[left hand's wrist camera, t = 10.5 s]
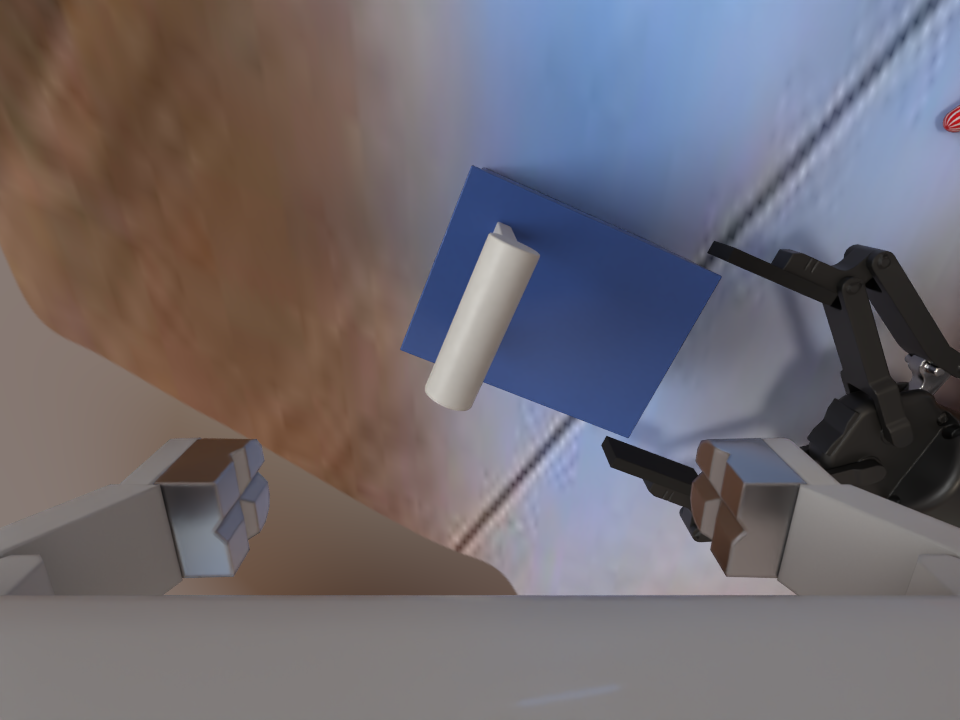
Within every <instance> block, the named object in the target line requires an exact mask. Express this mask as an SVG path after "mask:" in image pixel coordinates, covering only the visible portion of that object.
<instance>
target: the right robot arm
mask: <svg viewBox="0 0 960 720" xmlns="http://www.w3.org/2000/svg"><path fill="white" fill-rule="evenodd" d="M708 253H709V254H711V255H713V256H716V257H718V258H720V259H723V260H725V261H727V262H729V263H732V264H734V265H736V266H739V267H741V268H743V269H745V270H748V271H750V272H752V273H755V274H757V275H759V276H761V277H764V278H766V279H768V280H771V281H773V282H775V283H777V284H780V285H782V286H784V287H787V288H789V289H791V290H793V291H796V292H798V293H800V294H803V295H805V296H807V297H810V298H812V299H815V300H817V301H819V302H822V303H823V306H824V310H825V313H826V316H827V319H828V322H829V326H830V329H831V332H832V335H833V339H834V342H835V345H836V348H837V352H838V355H839V358H840V361H841V365H842V368H843V371H841V372H840V374H841V378H842V381H843V384H844V387H845V391H846V394H847V395H845V396H843V397H842V398H840V399H839V400H838V399H836V398H835V399H834V400H833V402H832V403H831V404H830V406H829V407H828V409H827V412H826V414H825V417H824V419H823V421H822V422H820V423H819V424H818V425H817V426H816V427H815V428H814V429H813V430H812V432H811V433H810V435H809V436H808V438H807V439H808V440H809V441H810V443H809V445H806V446H803V447H800V448H801V449H802V450H803V451H804V452H805V453H806V454H807V455H809V456H810V457H811V458H812V459H813V460H814V461H815V462H816V463H817V464H819V465H820V466H821V467H822V468H823V469H824V470H825V471H826V472H828V473H829V474H830V475H831V476H832V477H833V478H834V479H835V480H836V481H838V482H839V483H840V484H848V485H852V486H855V487H858V488H860V489H863V490H865V491H868V492H870V493H873V494H875V495H878V496H880V497H883V498H885V499H888V500H890V501H893V502H895V503H898V504H900V505H903V506H905V507H908V508H910V509H913V510H915V511H918V512H920V513H923V514H925V515H928V516H930V517H933V518H936V519H938V520H941V521H943V522H946V523H948V524H951V525H953V526H956V527H958V528H960V413H958V412H956V411H954V410H951V409H949V408H947V407H944V406H942V405H939V404H938V403H937V402H936V400H935V398H934V397H933V394H934V393H935V392H936V391H937V390H938V389H939V388H940V387H941V386H942V385H943V384H944V382H945V381H946V380H947V379H948V378H949V377H950V376H951V375H952V376H954V377H957V378H960V353H959V352H958V351H956V350H954V349H953V348H951V347H950V346H949V344H948V343H947V341H946V340H945V338H944V336H943V335H942V333H941V331H940V330H939V328H938V326H937V325H936V323H935V321H934V320H933V318H932V317H931V315H930V313H929V312H928V310H927V308H926V307H925V305H924V303H923V302H922V300H921V298H920V297H919V295H918V293H917V292H916V290H915V289H914V287H913V285H912V284H911V282H910V280H909V279H908V277H907V275H906V274H905V272H904V270H903V269H902V267H901V266H900V264H899V262H898V261H897V259H896V257H895V256H894V254H893V253H892V252H889V251H885V250H880V249H876V248H871V247H867V246H862V245H858V244H857V245H853V246H851V247H849V248H848V249H847V250H846V252H845V254H844V259H842V260H841V261H840V262H839V263H837V264H835V265H832V266H830V265H828V264H825V263H823V262H821V261H819V260H816V259H814V258H812V257H810V256H808V255H805V254H803V253H800V252H796V251H793V250H789V249H780V250H779V251H778V253H777V255H776V256H775V258H774V260H773V261H772V263H771V264H770V263H768V262H766V261H763V260H761V259H759V258H757V257H754V256H752V255H750V254H748V253H745V252H743V251H741V250H739V249H736V248H734V247H731V246H728V245H725V244H722V243H719V242H717V241H714V242H713V244H712V245H711V247H710V249H709V251H708ZM868 298H869V299H868ZM869 300H870V301H871V303H872V305H873V306H874V308H875V309H876V311H877V312H878V314H879V315H880V317H881V319H882V320H883V322H884V323H885V325H886V326H887V328H888V329H889V331H890V333H891V334H892V336H893V337H894V339H895V340H896V342H897V343H898V344H899V346H900V347H901V348H902V349H903V350H905V351H906V352H907V353H909V354H908V355H907V356H906V357H905V361H906V362H907V363H908V367H909V369H910V370H911V371H912V374H913V376H912V379H911V381H910V382H909V383H908V382H899V383H896V382H895V381H894V380H893V379H892V378H891V376H890V374H889V371H888V367H887V363H886V360H885V356H884V353H883V349H882V345H881V342H880V338H879V335H878V331H877V327H876V324H875V320H874V317H873V313H872V309H871V306H870V302H869ZM601 446H602V448H603V450H604V453H605V455H606V457H607V460H608V462H609V464H610V467H612V468H614V469H617V470H620V471H623V472H625V473H628V474H631V475H634V476H636V477H639V478H642V479H643V481H644V483H645V485H646V487H647V488H648V490H649V492H650V493H652V494H653V495H654V496H656V497H658V498H661V499H664V500H668V501H669V502H672V503H675V504H678V505H680V506H683V507H682V508H681V509H680V512H679V513H680V516H681V518H682V520H683V522H684V523H685V525H686V527H687V529H688V531H689V532H690V534H691V536H692V538H693V539H694V540H695V541H697V542H711V541H712V540H711V539H710V538H708V537H707V536H705V535H703V534H702V533H700V531H699V529H698V528H697V526H696V524H695V522H694V518H693V515H692V511H691V501H690V495H691V487H692V482H693V481H694V479H695V478H696V477H697V476H698V474H697V473H696V472H695V470H694V469H693V468H691V467H688V466H685V465H683V464H680V463H677V462H675V461H672V460H669V459H667V458H664V457H661V456H659V455H656V454H653V453H651V452H648V451H645V450H643V449H640V448H637V447H635V446H632V445H629V444H627V443H624V442H621V441H619V440H616V439H614V438H611V437H608V436H606V438H605V440H604V441H603V443H602V445H601Z"/></svg>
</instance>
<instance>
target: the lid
mask: <svg viewBox="0 0 960 720" xmlns="http://www.w3.org/2000/svg"><path fill="white" fill-rule="evenodd" d="M721 277H722V276H720V275H718V274H716V273H714V272H712V271H710V270H707V269H705V268H703V267H701V266H698V265H696V264H694V263H692V262H689V261H687V260H685V259H683V258H680V257H678V256H676V255H674V254H671V253H669V252H667V251H665V250H662V249H660V248H658V247H656V246H653V245H651V244H649V243H647V242H644V241H642V240H640V239H638V238H635V237H633V236H631V235H629V234H626V233H624V232H622V231H620V230H617V229H615V228H613V227H611V226H608V225H606V224H604V223H602V222H599V221H597V220H595V219H593V218H590V217H588V216H586V215H584V214H581V213H579V212H577V211H575V210H572V209H570V208H568V207H566V206H563V205H561V204H559V203H557V202H554V201H552V200H550V199H548V198H545V197H543V196H541V195H538V194H536V193H534V192H532V191H529V190H527V189H525V188H523V187H520V186H518V185H516V184H514V183H511V182H509V181H507V180H505V179H502V178H500V177H498V176H496V175H493V174H491V173H489V172H487V171H484V170H482V169H480V168H478V167H475V166H473V165H472V166H471V169H470V171H469V174H468V176H467V179H466V182H465V184H464V187H463V189H462V192H461V194H460V197H459V200H458V202H457V205H456V207H455V210H454V212H453V215H452V218H451V220H450V223H449V225H448V228H447V230H446V233H445V236H444V238H443V241H442V243H441V246H440V248H439V251H438V253H437V256H436V259H435V261H434V264H433V266H432V269H431V271H430V274H429V277H428V279H427V282H426V284H425V287H424V289H423V292H422V295H421V297H420V300H419V302H418V305H417V307H416V310H415V313H414V315H413V318H412V320H411V323H410V325H409V328H408V331H407V333H406V336H405V338H404V341H403V343H402V346H401V349H400V350H402V351H405V352H407V353H410V354H412V355H415V356H417V357H420V358H423V359H425V360H428V361H430V362H433V363H435V364H434V367H433V369H432V371H431V374H430V376H429V379H428V381H427V383H426V386H425V392H426V394H427V395H428V396H429V397H430V398H431V399H432V400H433V401H435V402H436V403H438V404H440V405H441V406H444V407H446V408H449V409H452V410H457V411H466V410H469V409H470V408H471V407H472V405H473V403H474V401H475V398H476V396H477V394H478V392H479V390H480V387H481V385H482V383H483V382H485V383H487V384H490V385H492V386H495V387H497V388H500V389H503V390H505V391H508V392H510V393H513V394H515V395H518V396H521V397H523V398H526V399H528V400H531V401H534V402H536V403H539V404H541V405H544V406H546V407H549V408H552V409H554V410H557V411H559V412H562V413H565V414H567V415H570V416H572V417H575V418H577V419H580V420H583V421H585V422H588V423H590V424H593V425H595V426H598V427H601V428H603V429H606V430H608V431H611V432H614V433H616V434H619V435H621V436H624V437H626V438H629V436H630V434H631V433H632V431H633V429H634V427H635V426H636V424H637V422H638V421H639V419H640V417H641V415H642V414H643V412H644V410H645V408H646V407H647V405H648V403H649V402H650V400H651V398H652V396H653V395H654V393H655V391H656V389H657V388H658V386H659V384H660V383H661V381H662V379H663V377H664V376H665V374H666V372H667V370H668V369H669V367H670V365H671V364H672V362H673V360H674V358H675V357H676V355H677V353H678V351H679V350H680V348H681V346H682V345H683V343H684V341H685V339H686V338H687V336H688V334H689V332H690V331H691V329H692V327H693V326H694V324H695V322H696V320H697V319H698V317H699V315H700V313H701V312H702V310H703V308H704V307H705V305H706V303H707V301H708V300H709V298H710V296H711V294H712V293H713V291H714V289H715V288H716V286H717V284H718V282H719V281H720V279H721Z"/></svg>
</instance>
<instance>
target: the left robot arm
mask: <svg viewBox="0 0 960 720" xmlns="http://www.w3.org/2000/svg"><path fill="white" fill-rule="evenodd" d="M263 463H264V456H263V451H262V446H261V444H260V443H259V442H258V441H257V439H215V438H204V439H202V438H176V439H170V440H168V441H167V442H166V443H165V444H164V445H163V446H162V447H161V448H159V449H158V450H157V451H156V452H155V453H154V454H153V455H152V456H151V457H149V458H148V459H147V460H146V461H145V462H144V463H143V464H142V465H141V466H139V467H138V468H137V469H136V470H135V471H134V472H133V473H131V474H130V475H129V476H128V477H127V478H126V479H125V480H124V481H123V482H121V483H120V484H114V485H113V484H112V485H108V486H105V487H103V488H100V489H97V490H95V491H92V492H90V493H87V494H85V495H82V496H80V497H77V498H75V499H72V500H70V501H67V502H65V503H62V504H60V505H57V506H55V507H52V508H49V509H47V510H45V511H42V512H39V513H37V514H34V515H32V516H29V517H27V518H24V519H22V520H19V521H17V522H14V523H12V524H9V525H7V526H4V527H2V528H0V720H960V528H958V527H956V526H953V525H951V524H948V523H946V522H943V521H941V520H938V519H936V518H933V517H930V516H928V515H925V514H923V513H920V512H918V511H915V510H913V509H910V508H908V507H905V506H903V505H900V504H898V503H895V502H893V501H890V500H888V499H885V498H883V497H880V496H878V495H875V494H873V493H870V492H868V491H865V490H863V489H860V488H858V487H855V486H852V485H848V484H840V483H839V482H838V481H836V480H835V479H834V478H833V477H832V476H831V475H830V474H829V473H828V472H826V471H825V470H824V469H823V468H822V467H821V466H820V465H819V464H817V463H816V462H815V461H814V460H813V459H812V458H811V457H810V456H809V455H807V454H806V453H805V452H804V451H803V450H802V449H801V448H800V447H798V446H797V445H796V444H795V443H794V442H793V441H792V440H790V439H787V438H762V439H761V438H744V439H707V440H702V441H701V442H700V445H699V447H698V449H697V455H696V463H697V464H698V466H699V467H700V469H701V470H702V472H701V473H700V474H699V475H698V476H697V477H696V478H695V479H694V481H693V482H692V487H691V495H690V501H691V511H692V515H693V518H694V522H695V524H696V526H697V528H698V529H699V531H700V533H702V534H703V535H705V536H707V537H708V538H710V539H711V540H712V543H711V549H710V550H711V552H712V553H713V555H714V557H715V558H716V560H717V562H718V563H719V565H720V567H721V568H722V570H723V572H724V573H725V575H726V577H757V578H778V579H777V580H778V581H779V582H780V583H782V584H783V585H784V586H786V587H787V588H788V589H790V590H791V591H793V592H794V593H795V594H797V595H164V594H165V593H166V592H168V591H169V590H170V589H172V588H173V587H174V586H176V585H177V584H178V583H180V582H181V581H182V578H202V577H233V576H234V575H235V573H236V572H237V570H238V568H239V567H240V565H241V563H242V562H243V560H244V558H245V557H246V555H247V553H248V552H249V550H250V549H249V543H248V540H249V539H250V538H252V537H253V536H255V535H257V534H258V533H260V531H261V529H262V527H263V526H264V524H265V522H266V518H267V514H268V510H269V498H270V493H269V486H268V482H267V481H266V480H265V479H264V477H263V476H262V475H261V474H260V473H259V472H258V470H259V469H260V467H261V466H262V464H263Z"/></svg>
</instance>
